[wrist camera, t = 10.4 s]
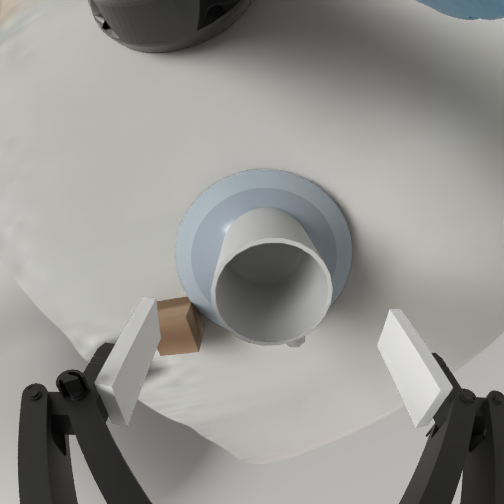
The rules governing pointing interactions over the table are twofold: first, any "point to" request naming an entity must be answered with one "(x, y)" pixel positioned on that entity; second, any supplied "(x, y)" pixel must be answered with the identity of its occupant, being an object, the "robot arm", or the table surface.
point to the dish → (247, 198)
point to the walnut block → (179, 327)
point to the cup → (270, 280)
